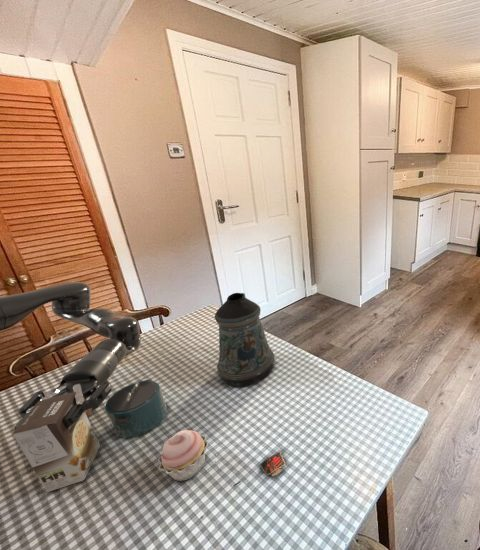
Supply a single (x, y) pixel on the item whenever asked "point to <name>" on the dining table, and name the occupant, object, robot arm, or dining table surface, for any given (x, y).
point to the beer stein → (242, 343)
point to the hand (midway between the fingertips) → (42, 427)
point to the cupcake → (183, 455)
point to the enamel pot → (136, 408)
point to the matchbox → (273, 464)
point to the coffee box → (57, 442)
